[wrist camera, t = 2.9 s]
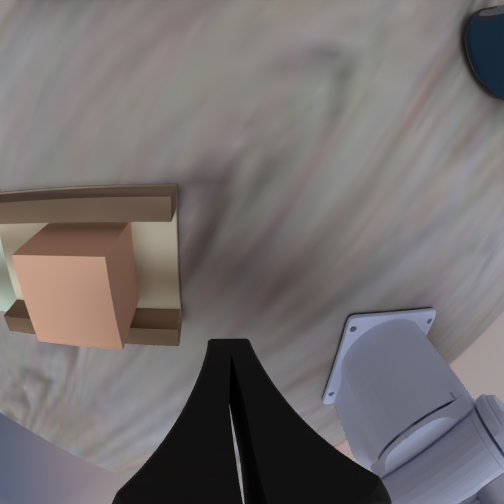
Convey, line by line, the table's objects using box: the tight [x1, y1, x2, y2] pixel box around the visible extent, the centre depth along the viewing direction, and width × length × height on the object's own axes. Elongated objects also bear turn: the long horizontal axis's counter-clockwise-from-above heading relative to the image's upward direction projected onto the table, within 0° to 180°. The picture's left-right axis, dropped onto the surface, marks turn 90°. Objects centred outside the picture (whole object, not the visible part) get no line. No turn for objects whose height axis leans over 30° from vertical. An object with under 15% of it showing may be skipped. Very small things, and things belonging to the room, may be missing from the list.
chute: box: [0, 184, 182, 346], centre depth 15 cm, size 9×23×2 cm, turn 86°
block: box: [12, 222, 139, 350], centre depth 15 cm, size 5×5×4 cm
